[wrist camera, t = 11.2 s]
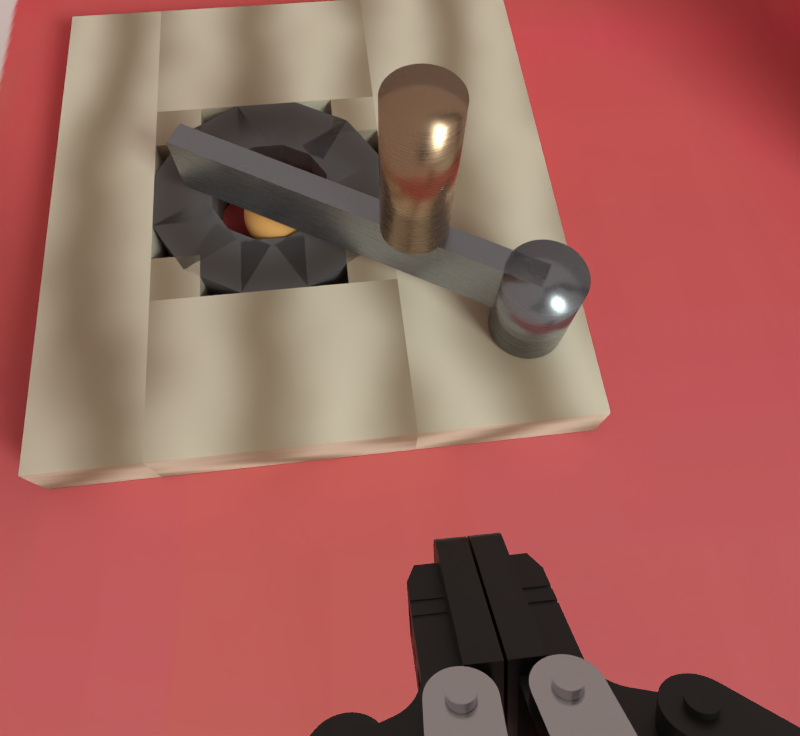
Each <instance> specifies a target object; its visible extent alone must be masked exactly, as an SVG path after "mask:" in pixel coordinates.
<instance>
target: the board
mask: <svg viewBox="0 0 800 736" xmlns="http://www.w3.org/2000/svg"><path fill="white" fill-rule="evenodd" d="M421 63H425V64H433V65H437V66H441V67H444V68H446V69H448V70H450V71H452V72H453V73H455V74H456V75H457V76H458V77H459V78H460V79H461V80H462V81H463V82H464V84H465V85H466V87H467V89H468V93H469V107H468V113H467V120H466V126H465V133H464V139H463V145H462V152H461V158H460V165H459V171H458V177H457V184H456V190H455V197H454V203H453V209H452V216H451V222H450V226H451V227H454V228H457V229H459V230H462V231H465V232H467V233H470V234H472V235H475V236H478V237H480V238H483V239H486V240H488V241H491V242H494V243H496V244H499V245H501V246H504V247H507V248H509V249H512V250H514V249H516V248H517V247H518V246H520V245H522V244H524V243H526V242H529V241H533V240H541V239H545V240H553V241H557V242H560V243H563V244H565V245H567V244H566V240H565V236H564V232H563V228H562V225H561V221H560V217H559V213H558V209H557V205H556V201H555V198H554V194H553V190H552V186H551V182H550V178H549V175H548V171H547V167H546V163H545V159H544V155H543V152H542V148H541V144H540V140H539V136H538V132H537V128H536V125H535V121H534V117H533V113H532V109H531V105H530V102H529V98H528V94H527V90H526V86H525V82H524V79H523V75H522V71H521V67H520V63H519V59H518V55H517V52H516V48H515V44H514V40H513V36H512V32H511V29H510V25H509V21H508V17H507V13H506V9H505V6H504V2H503V0H339V1H323V2H306V3H290V4H274V5H257V6H241V7H224V8H208V9H191V10H175V11H158V12H142V13H126V14H109V15H93V16H76V17H72V26H71V34H70V43H69V51H68V60H67V68H66V76H65V85H64V93H63V102H62V110H61V119H60V127H59V136H58V144H57V152H56V161H55V169H54V178H53V186H52V195H51V203H50V212H49V220H48V228H47V237H46V245H45V254H44V262H43V271H42V279H41V288H40V296H39V304H38V313H37V321H36V330H35V338H34V347H33V355H32V364H31V372H30V380H29V389H28V397H27V406H26V414H25V423H24V431H23V440H22V448H21V456H20V465H19V473H18V476H19V477H21V478H23V479H26V480H28V481H30V482H32V483H34V484H37V485H39V486H41V487H43V488H45V489H52V488H62V487H71V486H80V485H89V484H99V483H108V482H117V481H126V480H136V479H145V478H154V477H163V476H173V475H182V474H191V473H201V472H210V471H219V470H228V469H238V468H247V467H256V466H265V465H275V464H284V463H293V462H302V461H312V460H321V459H330V458H340V457H349V456H358V455H367V454H377V453H386V452H395V451H404V450H414V449H423V448H432V447H441V446H451V445H460V444H469V443H478V442H488V441H497V440H506V439H516V438H525V437H534V436H543V435H553V434H562V433H571V432H580V431H590V430H595V429H596V428H597V427H598V425H599V424H600V423H601V422H602V421H603V420H604V419H605V418H606V417H607V416H608V415H609V414H610V409H609V405H608V401H607V397H606V394H605V390H604V386H603V382H602V378H601V374H600V370H599V367H598V363H597V359H596V355H595V351H594V347H593V344H592V340H591V336H590V332H589V328H588V324H587V321H586V317H585V313H584V309H583V305H581V306H580V308H579V310H578V312H577V313H576V315H575V317H574V318H573V320H572V322H571V324H570V325H569V327H568V329H567V331H566V332H565V334H564V336H563V337H562V339H561V341H560V343H559V344H558V346H557V347H556V348H555V349H554V350H553V351H552V352H550V353H549V354H547V355H545V356H542V357H539V358H534V359H525V358H519V357H515V356H513V355H510V354H508V353H507V352H505V351H504V350H502V349H501V348H500V347H499V346H498V345H497V344H496V343H495V341H494V340H493V338H492V336H491V334H490V331H489V327H488V318H489V313H490V310H491V306H488V305H486V304H483V303H481V302H478V301H476V300H473V299H471V298H468V297H466V296H463V295H460V294H458V293H455V292H453V291H450V290H448V289H445V288H443V287H440V286H438V285H435V284H433V283H430V282H428V281H425V280H423V279H420V278H417V277H415V276H412V275H410V274H407V273H405V272H402V271H400V270H397V269H395V268H392V267H390V266H387V265H385V264H382V263H380V262H377V261H375V260H372V259H369V258H367V257H364V256H362V255H359V254H357V253H354V252H352V251H349V250H347V249H344V248H342V247H339V246H337V245H334V244H332V243H329V242H326V241H324V240H321V239H319V238H316V237H314V236H311V235H309V234H306V233H304V232H301V231H298V232H296V233H295V234H293V235H291V236H289V237H283V238H271V239H259V240H256V239H253V238H251V237H248V236H245V235H243V234H240V233H238V232H235V231H233V230H230V229H228V228H227V226H226V225H225V224H224V223H223V212H224V210H225V209H226V207H227V206H228V204H229V203H228V202H225V201H223V200H220V199H218V198H215V197H213V196H210V195H208V194H205V193H203V192H200V191H197V190H195V189H192V188H190V187H187V186H185V185H184V182H183V180H182V178H181V176H180V173H179V171H178V169H177V166H176V164H175V162H174V160H173V157H172V155H171V153H170V150H169V148H168V146H167V144H166V141H167V140H168V138H169V137H170V136H171V134H172V133H173V132H174V130H175V129H176V128H177V127H178V125H179V124H183V125H186V126H188V127H191V128H193V129H196V130H199V131H201V132H204V133H207V134H209V135H212V136H215V137H217V138H220V139H222V140H225V141H228V142H230V143H233V144H236V145H238V146H241V147H243V148H246V149H249V150H251V151H254V152H257V153H259V154H262V155H265V156H267V157H270V158H272V159H275V160H278V161H280V162H283V163H286V164H288V165H291V166H293V167H296V168H299V169H301V170H304V171H307V172H309V173H312V174H315V175H317V176H320V177H322V178H325V179H328V180H330V181H333V182H336V183H338V184H341V185H343V186H346V187H349V188H351V189H354V190H357V191H359V192H362V193H365V194H367V195H370V196H372V197H375V198H378V199H379V142H378V91H379V88H380V85H381V83H382V82H383V80H384V79H385V78H386V77H387V76H388V75H389V74H390V73H392V72H393V71H395V70H396V69H398V68H401V67H403V66H407V65H411V64H421ZM168 254H169V256H170V257H168Z"/></svg>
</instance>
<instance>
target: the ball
mask: <svg viewBox="0 0 800 736" xmlns="http://www.w3.org/2000/svg"><path fill="white" fill-rule="evenodd" d="M244 220H245V225H246V227H247V230H248V232H249V233H250V235H251V236H252V238H253V239H256V240H259V239H271V238H283V237H289V236H291V235H293V234H295V233H296V232H298V231H299V230H296V229H294V228H291V227H289V226H286V225H283V224H281V223H278V222H276V221H273V220H271V219H268V218H266V217H263V216H261V215H258V214H256V213H253V212H251V211H248V210H246V209H244Z"/></svg>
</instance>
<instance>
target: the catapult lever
mask: <svg viewBox="0 0 800 736" xmlns="http://www.w3.org/2000/svg"><path fill="white" fill-rule="evenodd" d="M468 107H469V93H468V89H467V87H466V85H465V84H464V82H463V81H462V80H461V79H460V78H459V77H458V76H457V75H456V74H455V73H453V72H452V71H450V70H448V69H446V68H444V67H441V66H437V65H433V64H425V63H421V64H411V65H407V66H403V67H401V68H398V69H396V70H395V71H393V72H392V73H390V74H389V75H388V76H387V77H386V78H385V79H384V80H383V82H382V83H381V85H380V88H379V91H378V142H379V199H378V198H375V197H372V196H370V195H367V194H365V193H362V192H359V191H357V190H354V189H351V188H349V187H346V186H343V185H341V184H338V183H336V182H333V181H330V180H328V179H325V178H322V177H320V176H317V175H315V174H312V173H309V172H307V171H304V170H301V169H299V168H296V167H293V166H291V165H288V164H286V163H283V162H280V161H278V160H275V159H272V158H270V157H267V156H265V155H262V154H259V153H257V152H254V151H251V150H249V149H246V148H243V147H241V146H238V145H236V144H233V143H230V142H228V141H225V140H222V139H220V138H217V137H215V136H212V135H209V134H207V133H204V132H201V131H199V130H196V129H193V128H191V127H188V126H186V125H183V124H179V125H178V127H177V128H176V129H175V130H174V132H173V133H172V134H171V136H170V137H169V138H168V140H167V141H166V144H167V146H168V148H169V150H170V153H171V155H172V157H173V160H174V162H175V164H176V166H177V169H178V171H179V173H180V176H181V178H182V180H183V182H184V185H185V186H187V187H190V188H192V189H195V190H197V191H200V192H203V193H205V194H208V195H210V196H213V197H215V198H218V199H220V200H223V201H225V202H228V203H230V204H233V205H235V206H238V207H240V208H243V209H246V210H248V211H251V212H253V213H256V214H258V215H261V216H263V217H266V218H268V219H271V220H273V221H276V222H278V223H281V224H283V225H286V226H289V227H291V228H294V229H296V230H299V231H301V232H304V233H306V234H309V235H311V236H314V237H316V238H319V239H321V240H324V241H326V242H329V243H332V244H334V245H337V246H339V247H342V248H344V249H347V250H349V251H352V252H354V253H357V254H359V255H362V256H364V257H367V258H369V259H372V260H375V261H377V262H380V263H382V264H385V265H387V266H390V267H392V268H395V269H397V270H400V271H402V272H405V273H407V274H410V275H412V276H415V277H417V278H420V279H423V280H425V281H428V282H430V283H433V284H435V285H438V286H440V287H443V288H445V289H448V290H450V291H453V292H455V293H458V294H460V295H463V296H466V297H468V298H471V299H473V300H476V301H478V302H481V303H483V304H486V305H488V306H491V310H490V313H489V318H488V327H489V331H490V334H491V336H492V338H493V340H494V341H495V343H496V344H497V345H498V346H499V347H500V348H501V349H502V350H504V351H505V352H507V353H508V354H510V355H513V356H515V357H519V358H525V359H534V358H539V357H542V356H545V355H547V354H549V353H550V352H552V351H553V350H554V349H555V348H556V347H557V346H558V344H559V343H560V341H561V339H562V337H563V336H564V334H565V332H566V331H567V329H568V327H569V325H570V324H571V322H572V320H573V318H574V317H575V315H576V313H577V312H578V310H579V308H580V306H581V305H582V303H583V301H584V300H585V298H586V296H587V294H588V292H589V289H590V282H591V281H590V272H589V269H588V267H587V265H586V263H585V261H584V260H583V258H582V257H581V256H580V255H579V254H578V253H577V252H576V251H575V250H573V249H572V248H570V247H569V246H567V245H565V244H563V243H560V242H557V241H553V240H545V239H541V240H533V241H529V242H526V243H524V244H522V245H520V246H518V247H517V248H516V249H514V250H512V249H509V248H507V247H504V246H501V245H499V244H496V243H494V242H491V241H488V240H486V239H483V238H480V237H478V236H475V235H472V234H470V233H467V232H465V231H462V230H459V229H457V228H454V227H451V226H450V222H451V216H452V209H453V203H454V197H455V190H456V184H457V177H458V171H459V165H460V158H461V152H462V145H463V139H464V133H465V126H466V120H467V113H468Z"/></svg>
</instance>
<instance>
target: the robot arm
mask: <svg viewBox="0 0 800 736" xmlns="http://www.w3.org/2000/svg"><path fill="white" fill-rule="evenodd" d="M407 591H408V605H409V620H410V634H411V642H412V649H413V656H414V664H415V671H416V678H417V686H418V693H417V695H416V697H415V699H414V700H413V702H412V703H411V704H410V705H409V706H408V707H407V708H406V709H405V710H403V711H402V712H401V713H399V714H397V715H395V716H394V717H391V718H389V719H387V720H385V721H383V722H380V723H378V722H377V721H376V720H375V719H373V718H372V717H369V716H367V715H365V714H361V713H353V712H351V713H343V714H338V715H336V716H333V717H331V718H329V719H327V720H325V721H324V722H323V723H321V724H320V725H319V726H318V727H317V728H316V729H315V730H314V731H313V733H312V734H311V735H310V736H800V728H799V727H797V726H796V725H794V724H792V723H790V722H788V721H787V720H785V719H783V718H781V717H780V716H778V715H776V714H774V713H772V712H771V711H769V710H767V709H765V708H763V707H762V706H760V705H758V704H756V703H754V702H753V701H751V700H749V699H747V698H746V697H744V696H742V695H740V694H738V693H737V692H735V691H733V690H731V689H729V688H728V687H726V686H724V685H722V684H720V683H719V682H717V681H715V680H713V679H710V678H708V677H705V676H701V675H697V674H678V675H674V676H671V677H669V678H668V679H666V680H665V681H664V682H663V683H662V684H661V686H660V688H659V691H658V692H654V691H647V690H641V689H635V688H629V687H625V686H621V685H618V684H615V683H613V682H611V681H608V680H606V679H605V678H604V676H603V675H602V673H601V672H600V671H599V670H598V669H597V668H596V667H595V666H594V665H592V664H591V663H589V662H588V661H586V660H584V658H583V656H582V654H581V652H580V649H579V647H578V645H577V643H576V641H575V638H574V636H573V634H572V632H571V629H570V627H569V625H568V623H567V621H566V618H565V616H564V614H563V612H562V610H561V607H560V605H559V603H557V598H556V596H555V594H554V592H553V590H552V589H551V586H550V583H549V581H548V578H547V576H546V574H545V572H544V570H543V567H541V566H540V565H539V564H538V563H537V562H536V561H535V560H534V559H532V558H531V557H530V556H529V555H528V554H527V553H524V554H515V555H509V553H508V551H507V548H506V545H505V543H504V540H503V538H502V535H501V534H500V533H492V534H482V535H473V536H468V537H467V538H466V536H465V537H455V538H446V539H436V540H434V563H433V564H423V565H414V567H413V569H412V571H411V574H410V576H409V579H408V581H407Z"/></svg>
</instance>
